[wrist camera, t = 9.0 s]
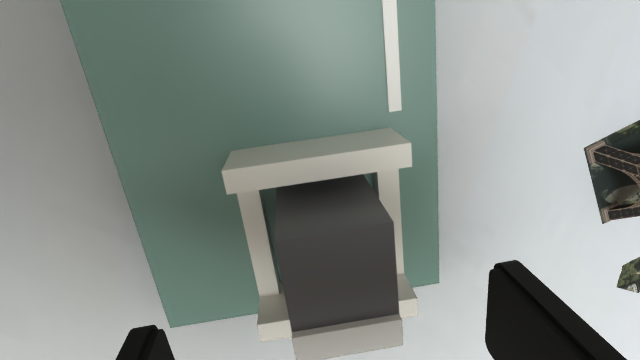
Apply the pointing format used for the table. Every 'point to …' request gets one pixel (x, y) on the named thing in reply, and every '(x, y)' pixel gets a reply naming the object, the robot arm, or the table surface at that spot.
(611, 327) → the table surface
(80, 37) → the board
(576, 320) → the robot arm
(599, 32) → the table surface
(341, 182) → the plug
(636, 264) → the eiffel tower figurine
